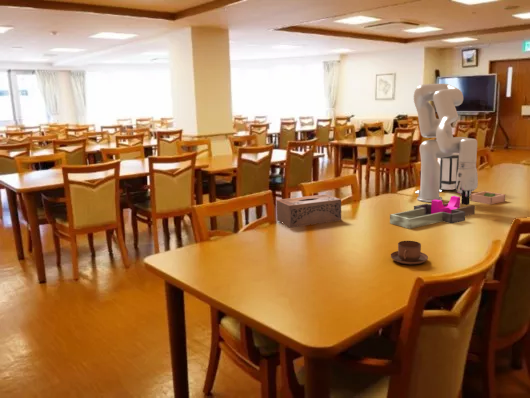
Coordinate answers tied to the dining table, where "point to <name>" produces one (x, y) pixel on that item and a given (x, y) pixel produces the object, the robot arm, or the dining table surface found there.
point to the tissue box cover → (308, 210)
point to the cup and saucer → (409, 253)
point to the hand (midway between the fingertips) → (465, 204)
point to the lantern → (448, 172)
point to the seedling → (489, 194)
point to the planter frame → (487, 198)
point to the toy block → (438, 206)
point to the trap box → (429, 216)
